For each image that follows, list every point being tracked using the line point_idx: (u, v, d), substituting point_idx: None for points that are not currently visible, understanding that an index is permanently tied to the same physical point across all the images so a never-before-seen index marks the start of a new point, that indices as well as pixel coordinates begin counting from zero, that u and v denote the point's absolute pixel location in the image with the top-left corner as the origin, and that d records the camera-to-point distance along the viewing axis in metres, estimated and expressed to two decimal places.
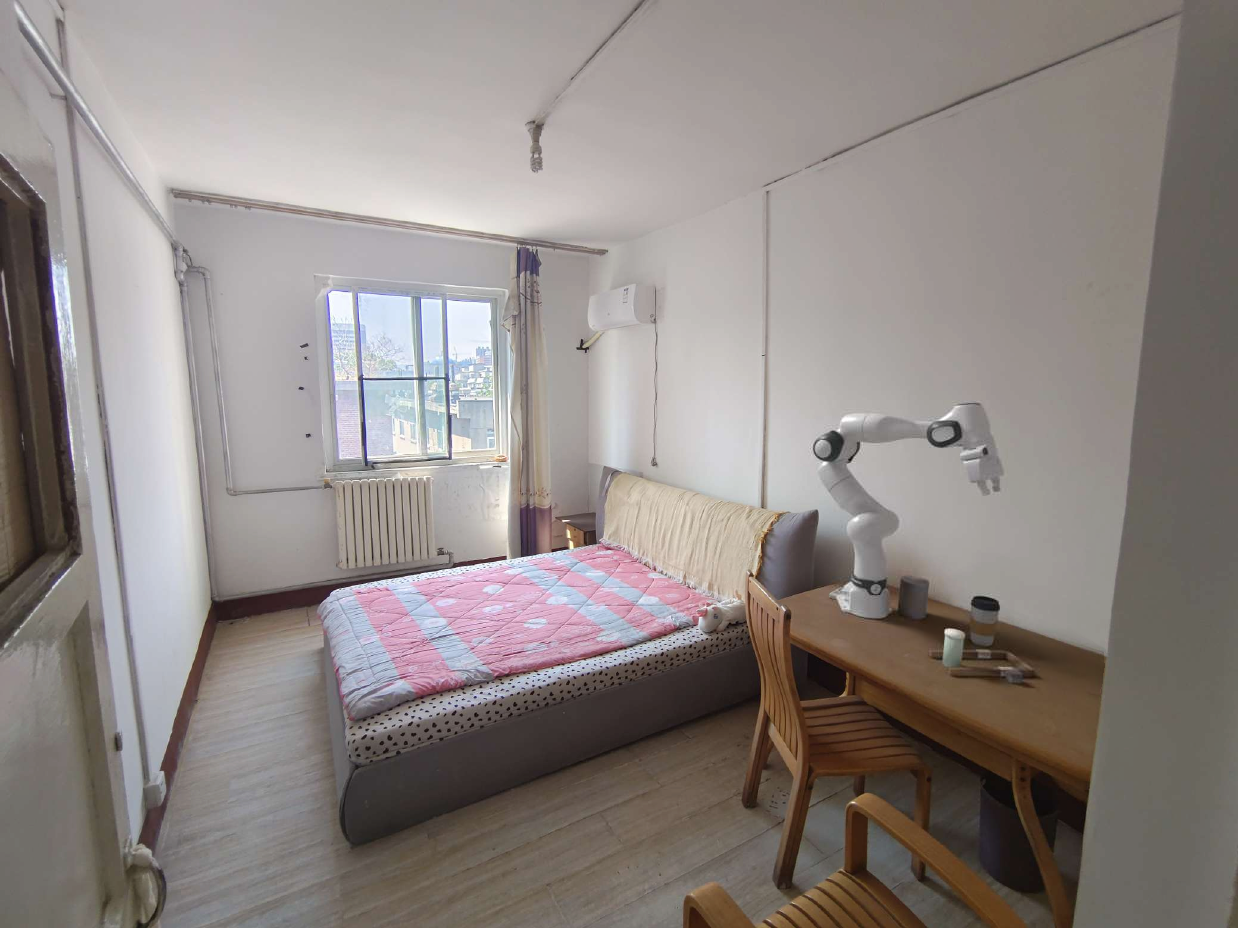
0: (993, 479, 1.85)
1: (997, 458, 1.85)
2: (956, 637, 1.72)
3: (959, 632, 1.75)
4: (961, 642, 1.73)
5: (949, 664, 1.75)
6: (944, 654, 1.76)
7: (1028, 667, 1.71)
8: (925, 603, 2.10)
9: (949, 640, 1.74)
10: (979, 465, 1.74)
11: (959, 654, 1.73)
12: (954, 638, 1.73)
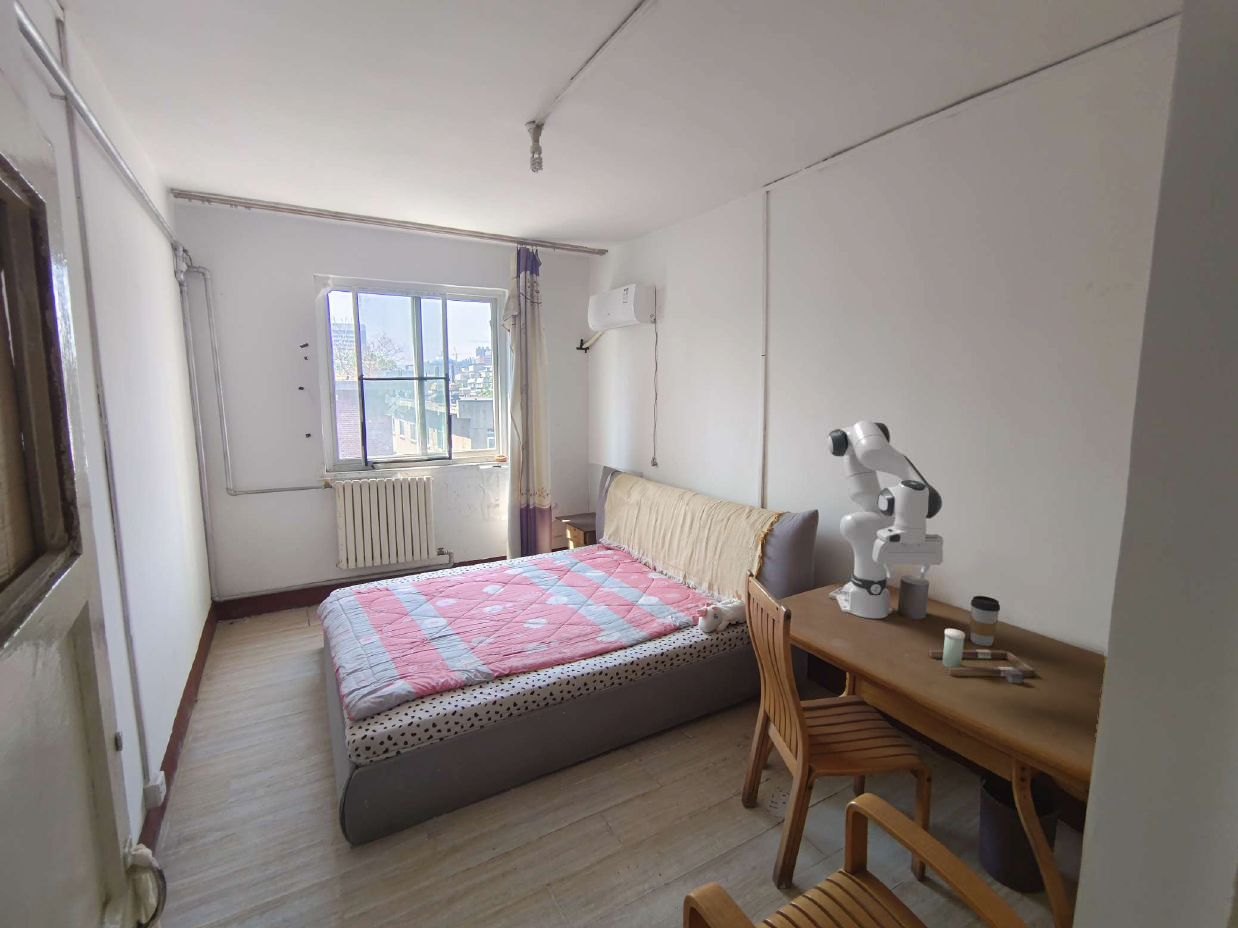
0: (923, 564, 1.75)
1: (934, 546, 1.72)
2: (956, 637, 1.72)
3: (959, 632, 1.75)
4: (961, 642, 1.73)
5: (949, 664, 1.75)
6: (944, 654, 1.76)
7: (1028, 667, 1.71)
8: (925, 603, 2.10)
9: (949, 640, 1.74)
10: (879, 549, 1.72)
11: (959, 654, 1.73)
12: (954, 638, 1.73)
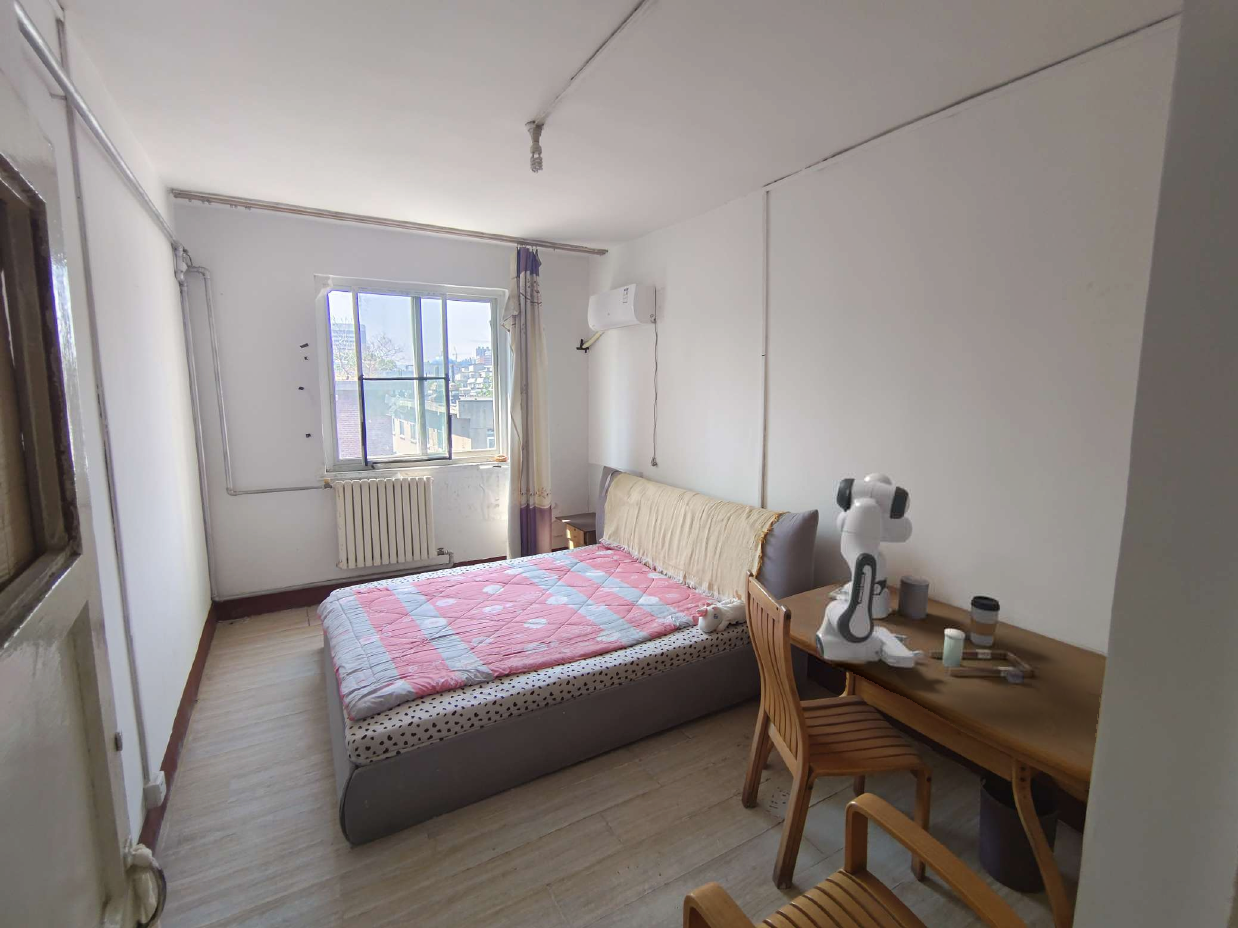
0: None
1: None
2: (956, 637, 1.72)
3: (959, 632, 1.75)
4: (961, 642, 1.73)
5: (949, 664, 1.75)
6: (944, 654, 1.76)
7: (1028, 667, 1.71)
8: (925, 603, 2.10)
9: (949, 640, 1.74)
10: None
11: (959, 654, 1.73)
12: (954, 638, 1.73)
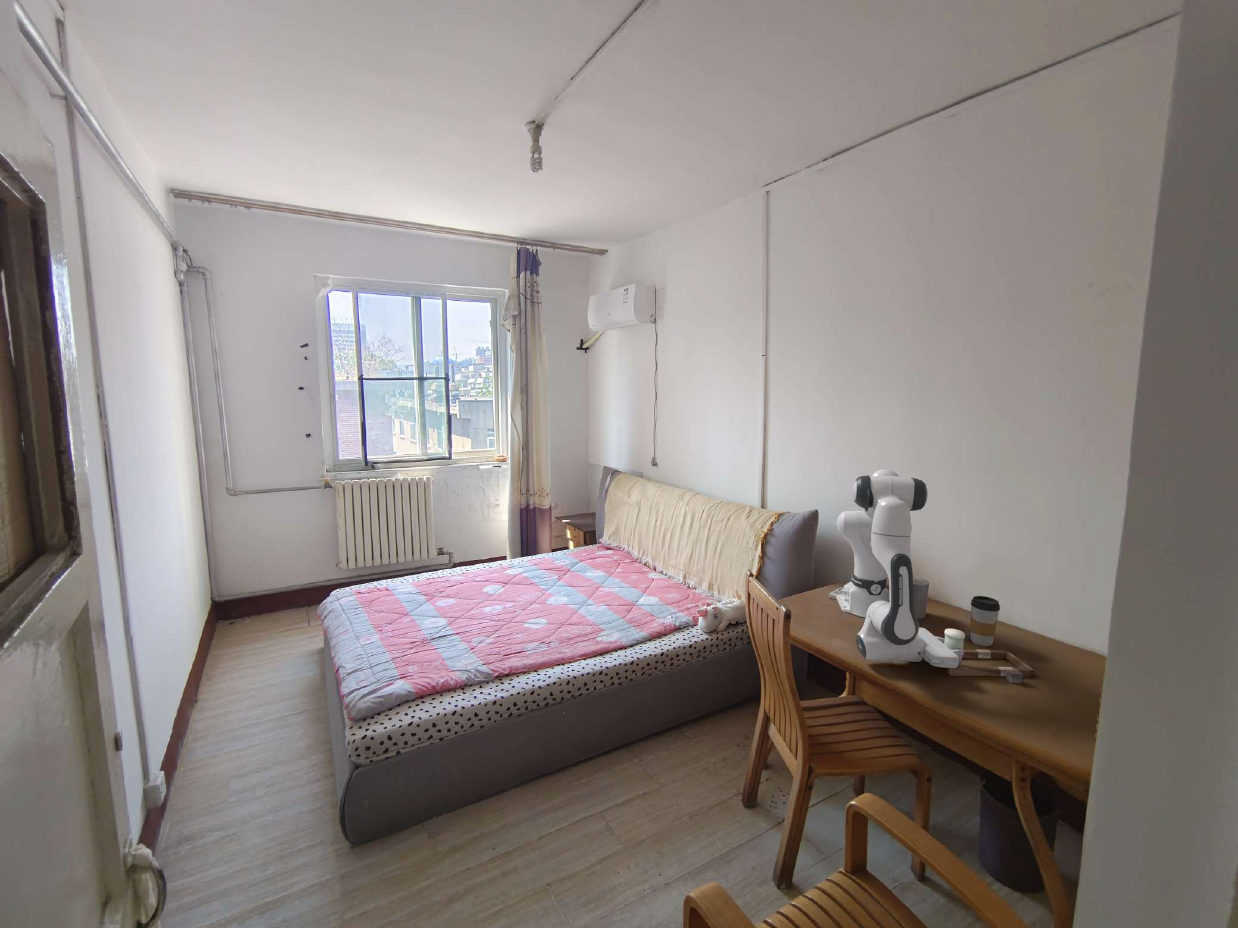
0: None
1: None
2: (956, 637, 1.72)
3: (959, 632, 1.75)
4: (961, 642, 1.73)
5: None
6: None
7: (1028, 667, 1.71)
8: (925, 603, 2.10)
9: (949, 640, 1.74)
10: None
11: None
12: (954, 638, 1.73)
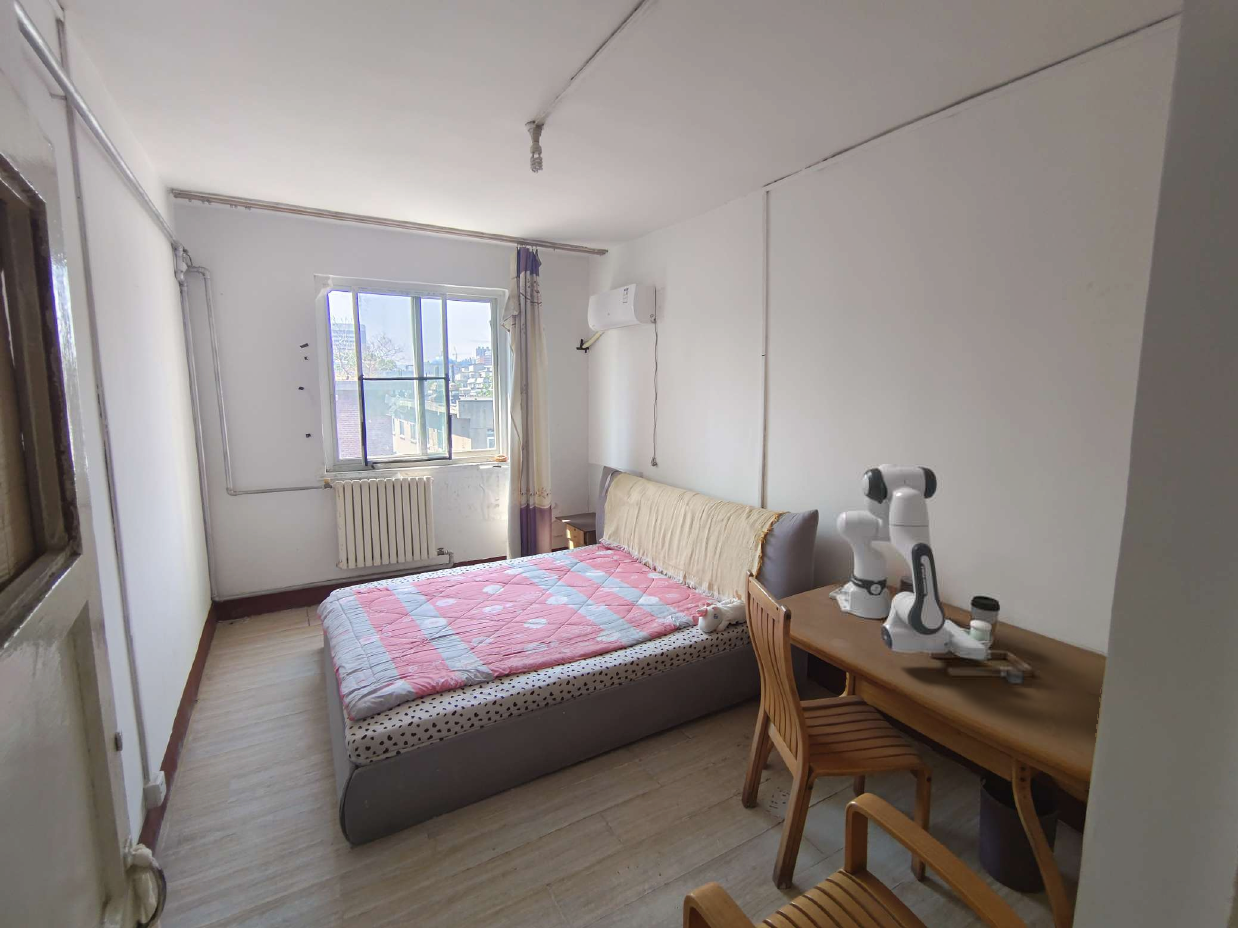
0: None
1: None
2: (982, 628, 1.72)
3: (985, 623, 1.74)
4: (987, 633, 1.72)
5: None
6: None
7: (1028, 667, 1.71)
8: None
9: (975, 632, 1.74)
10: None
11: None
12: (980, 629, 1.72)
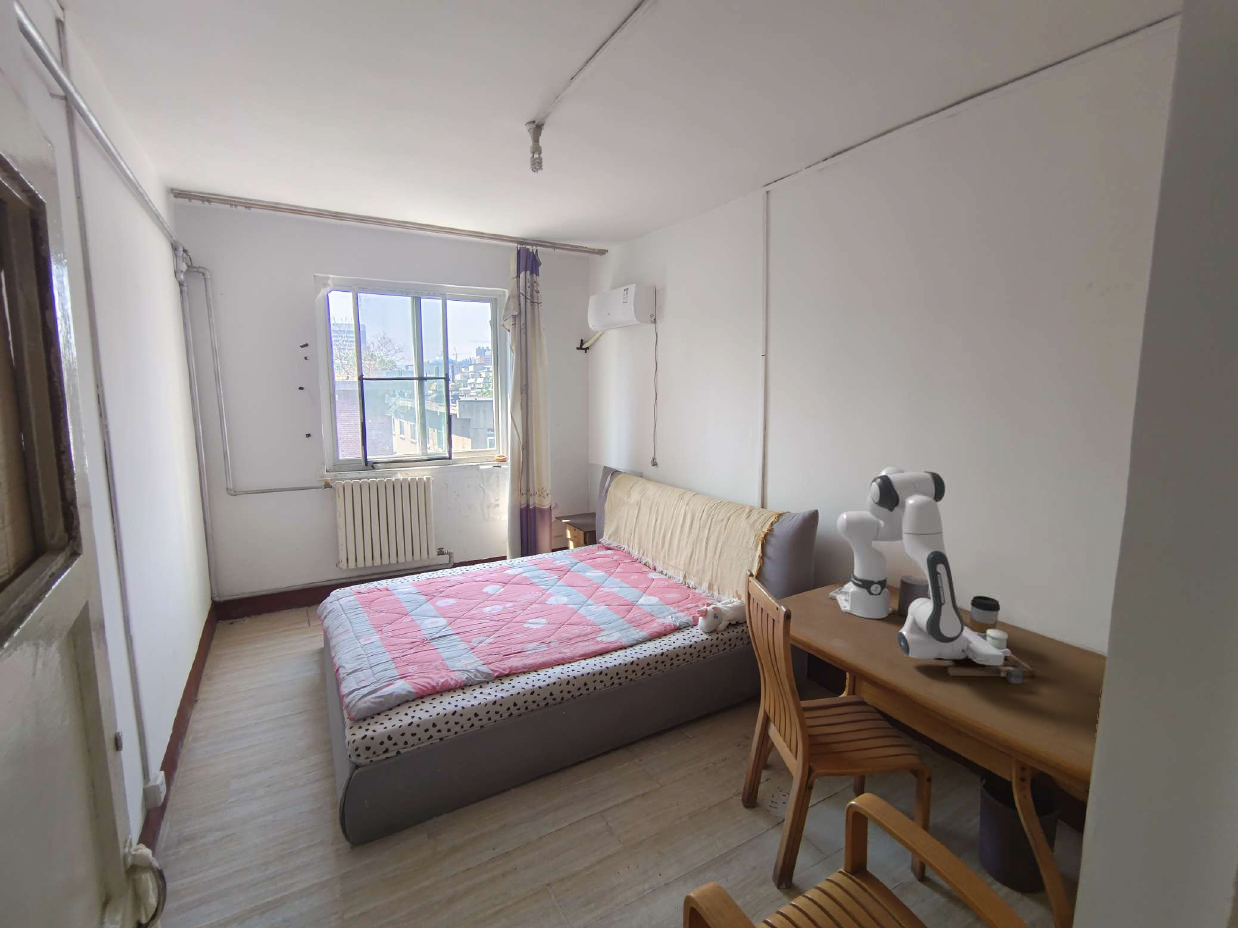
0: None
1: None
2: (999, 637, 1.72)
3: (1001, 632, 1.75)
4: (1004, 642, 1.73)
5: None
6: None
7: (1028, 667, 1.71)
8: None
9: (991, 641, 1.74)
10: None
11: None
12: (997, 638, 1.73)
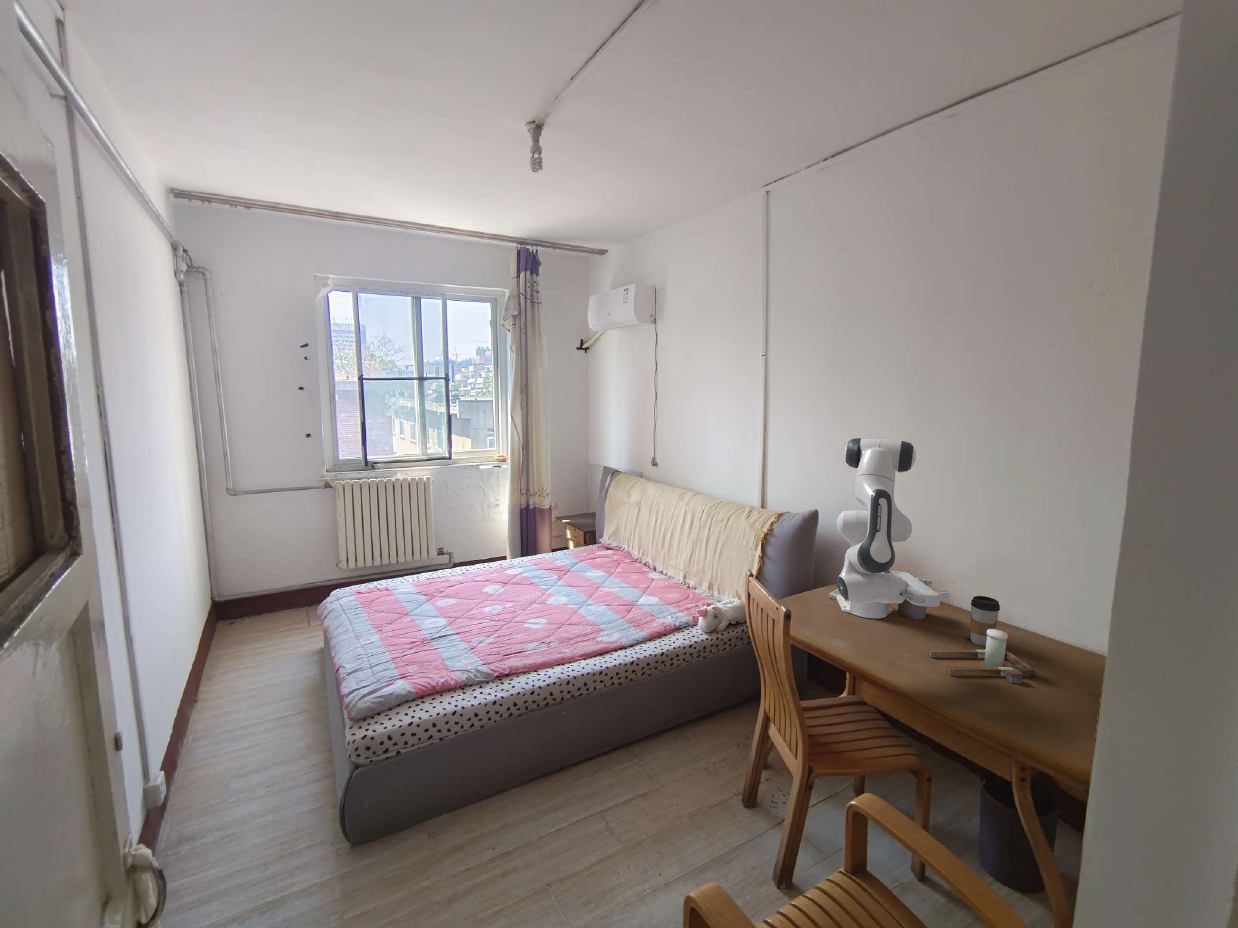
0: None
1: None
2: (999, 637, 1.72)
3: (1001, 632, 1.75)
4: (1004, 642, 1.73)
5: (991, 664, 1.74)
6: (986, 654, 1.76)
7: (1028, 667, 1.71)
8: None
9: (991, 641, 1.74)
10: None
11: (1002, 654, 1.73)
12: (997, 638, 1.73)
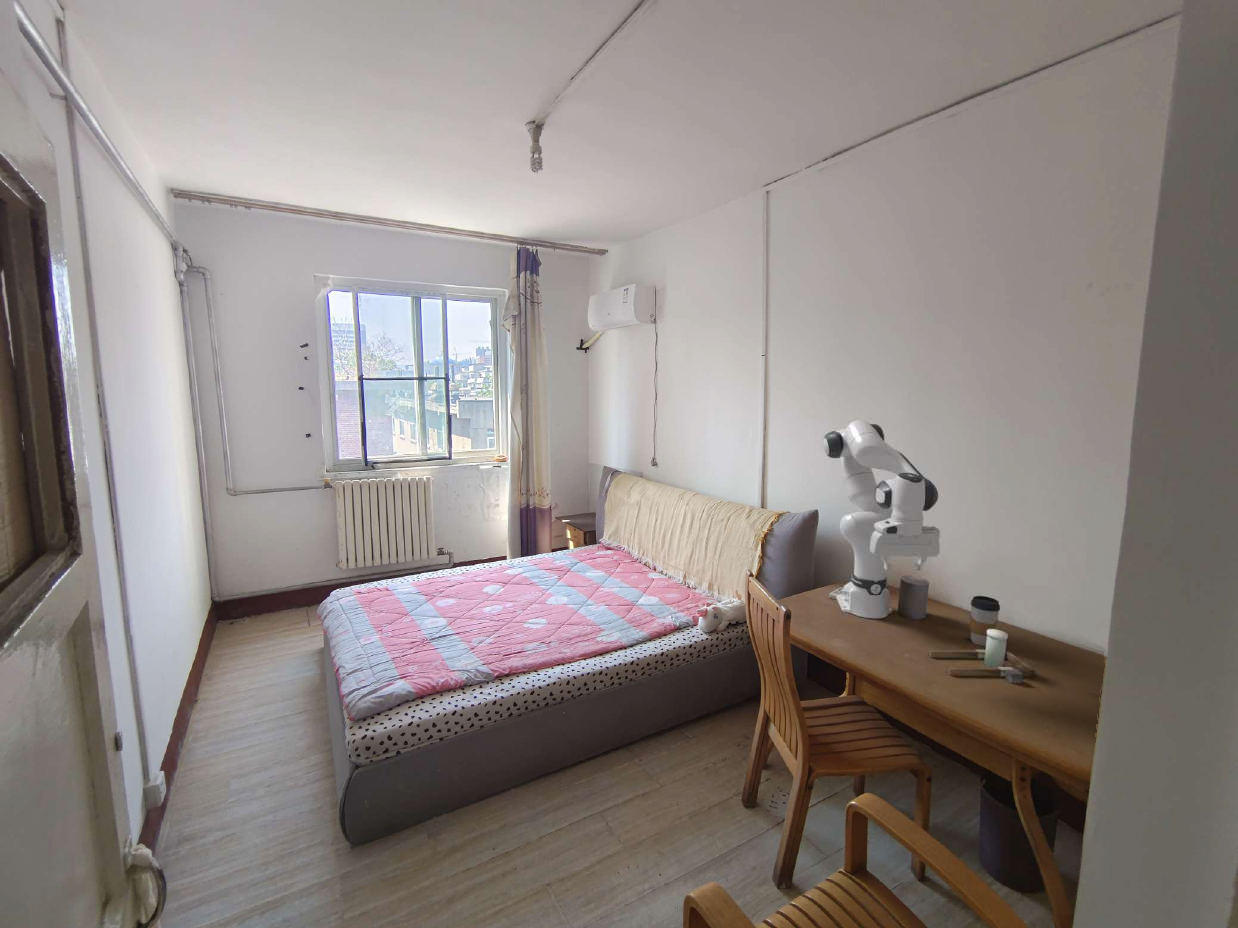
0: (920, 556, 1.77)
1: (931, 538, 1.74)
2: (999, 637, 1.72)
3: (1001, 632, 1.75)
4: (1004, 642, 1.73)
5: (991, 664, 1.74)
6: (986, 654, 1.76)
7: (1028, 667, 1.71)
8: (925, 603, 2.10)
9: (991, 641, 1.74)
10: (876, 541, 1.74)
11: (1002, 654, 1.73)
12: (997, 638, 1.73)
